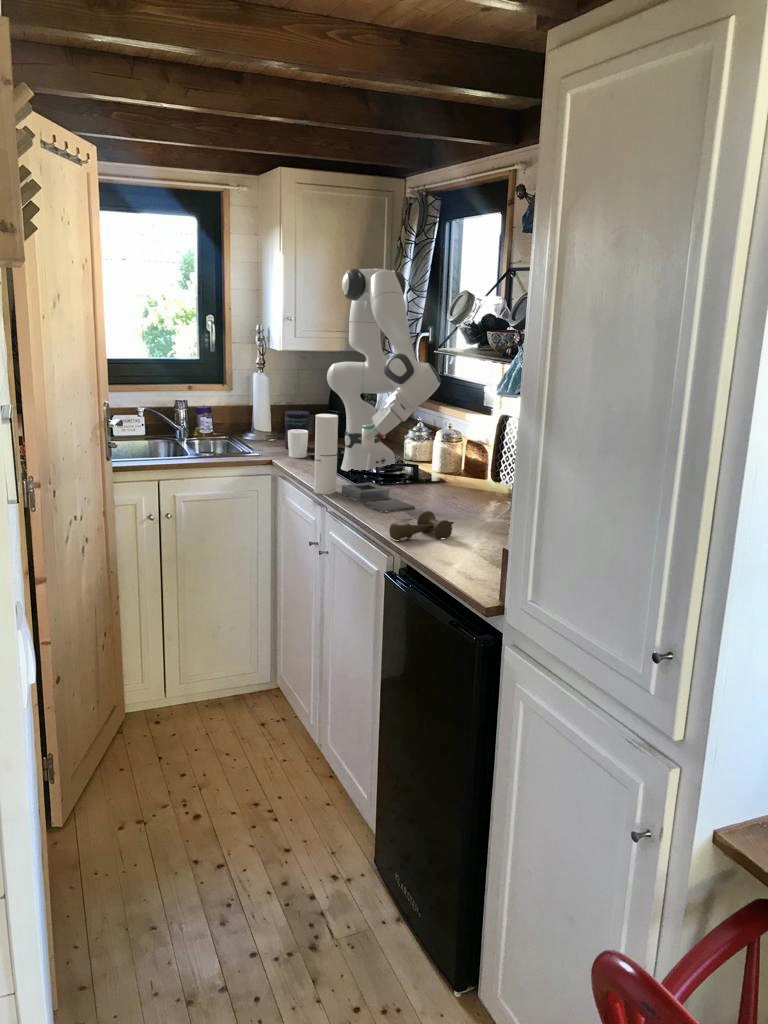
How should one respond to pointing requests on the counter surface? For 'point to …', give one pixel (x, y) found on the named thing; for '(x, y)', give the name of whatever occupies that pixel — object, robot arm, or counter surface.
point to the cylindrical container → (326, 453)
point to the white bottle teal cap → (367, 444)
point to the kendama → (422, 527)
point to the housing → (365, 491)
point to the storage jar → (296, 423)
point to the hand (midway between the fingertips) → (366, 436)
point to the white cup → (297, 443)
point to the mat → (390, 505)
